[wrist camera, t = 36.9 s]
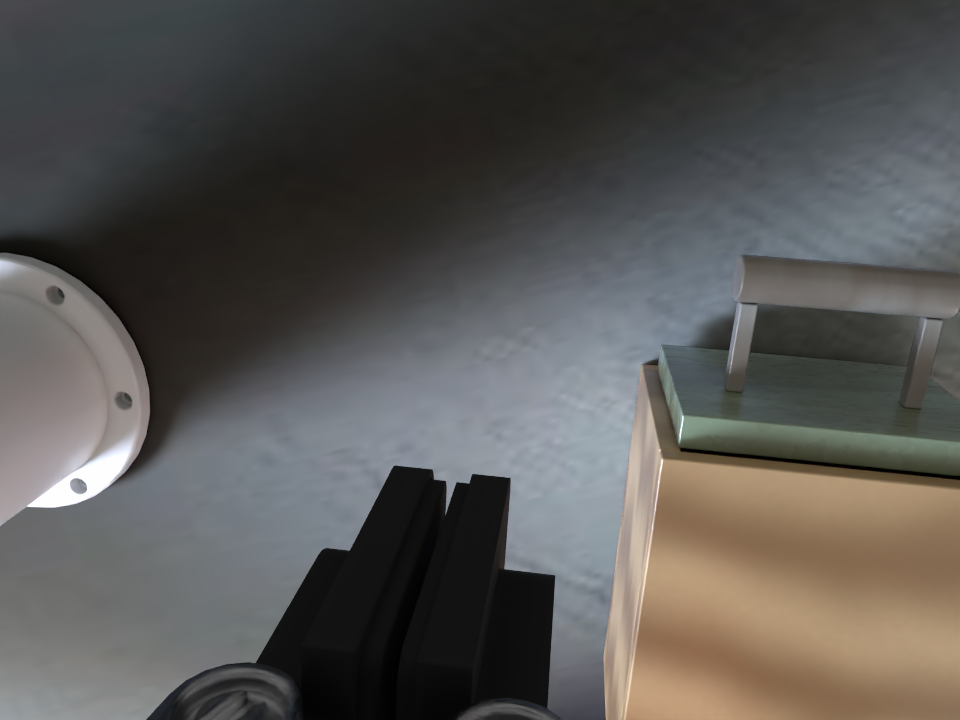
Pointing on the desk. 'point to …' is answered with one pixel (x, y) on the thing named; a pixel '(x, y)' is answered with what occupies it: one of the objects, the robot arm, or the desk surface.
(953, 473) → the drawer
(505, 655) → the robot arm
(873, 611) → the cabinet
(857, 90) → the desk surface
